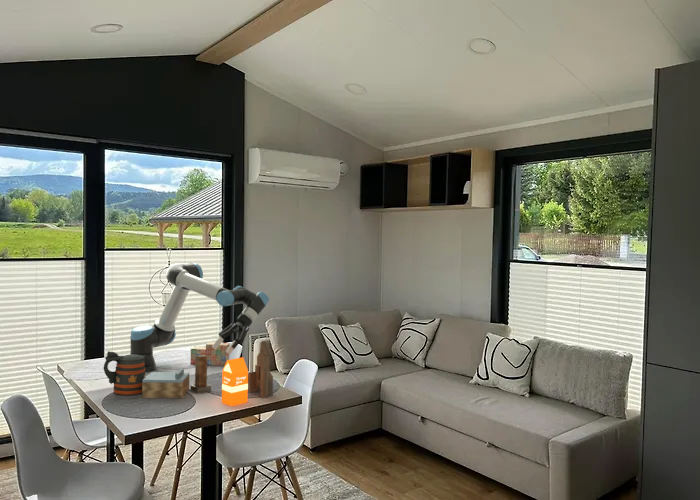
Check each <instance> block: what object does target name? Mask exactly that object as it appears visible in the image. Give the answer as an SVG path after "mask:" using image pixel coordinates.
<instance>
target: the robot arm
mask: <svg viewBox="0 0 700 500" xmlns="http://www.w3.org/2000/svg"><path fill="white" fill-rule="evenodd" d="M165 276H166V280H167V282H168V283H169V284H171V285H173V289H172V291H171V293H170V295H169V296H168V300H167V301H166V304H165V306H164V308H163V310H162V312H161V315H160V317H159V319H156V320H155V322H154V323H153V326H152V325H139V326H136V327H134V328H132V329H131V331H130V337H129V338H130V354H136V355H142V356H143V355H146V357H145V361H144V362H145V373H147V372H153V371H155V370H156V369H157V363H156V361H155V358H154V349H155V348H159V347H165V346H167V345H171V344H172V343H173V342H174V340H175V339H176V336H177V333H176V327H175V323H176V321H177V319H178V317H179V315H180V312H181V310H182V308H183V305H184V303H185V301H186V299H187V296H188V294H189V293H190V291H191V292H194V293H196V294H199V295H202V296H203V297H207V298H209V299H211V300H214V301H216V302H217V303H218V305H219V306H221V307H229V306H234V305H238V304H243V305H245V308H244V309H243V310H242V312H241V313H240V314H239V315H238V317H237V318H236V323H235V322H234V321H231V323H230V324H229V325H227V327H224V329H222V330H221V331H220V332H219V333H218V338H217V339H216V341H214V344H213V345H212V347H213V348H214V349H215V350H216V349H217V348H218V346H219V345H220V344H221V343H223V342H224V340H225V339H226V338H227V337H228V336H230V335H233V334H235V333H236V336H235V339H234V340H232V342H231V343H230V344H229V347H228V349H227V350H226V352H227V353H228V354H229V356H230V355H231V354H232V353H233V351H234V350H235V349H236V347H237V346H239V345H240V344H244V342H245V338H246V336H247V334H248V331H250V326H251V325H252V324H253V322H254V321H255V320H256V319H257V317H258V316H259V314H260V313H261V312H262V311H263V310H264V308H265V307H266V306H267V305H268V303H269V302H270V297H269V296H268V295H267V293H265V292H263V291H258V292H257V293H255V292H253V291H250V290H249V289H248V288H245V287H244V286H241V285H236V286H235V287H234V288H233V289H227V288H225V287H223V286H220V285H218V284H215V283H214V282H211V281H208V280H205V279H204V272H203V268H202V267H201V266H200V264H198V263H196V262H191V261H190V262H183V263H182V262H180V263H173V264H171V265H170V266H169V267H168V268H167V270H166V273H165Z"/></svg>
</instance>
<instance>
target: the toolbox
mask: <svg viewBox="0 0 700 500" xmlns="http://www.w3.org/2000/svg"><path fill="white" fill-rule="evenodd" d="M189 390H190V375H189V376H188V377H187V378H186V379H185V380H184V381H183V382H182V383H150V382H143V383H142V393H141V395H142V396H141V397H142V398H143V399H146V398H147V399H152V398H153V399H159V398H160V399H183V398H184V396H185V395H186V393H188V391H189ZM166 397H167V398H166Z"/></svg>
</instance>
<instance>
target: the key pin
mask: <svg viewBox="0 0 700 500" xmlns="http://www.w3.org/2000/svg"><path fill="white" fill-rule="evenodd" d="M194 365H195V369H194V370H195V371H194V372H195V373H194V374H195V376H194V384H195V386H196V387H198V388H199V387H204V386H207V384H208V382H207V381H208V365H207V356H206V355H197V356H196V362H195V364H194Z"/></svg>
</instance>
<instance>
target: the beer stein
mask: <svg viewBox="0 0 700 500" xmlns="http://www.w3.org/2000/svg"><path fill="white" fill-rule="evenodd" d="M145 357H146V355H143V356H142V355H136V354H124V355H119V354H118V353H117V352H115V351H110V350H108V351H107V354H106V356H105V362H104V364H103V371H104V374H105V375H106V377H107V379H108V383H110V385H112V384H113V393H114V394H116V395H118V396H119V395H121V396H130V395H131V396H133V395H138V394H139V393H140V394H142V383H143V379H144V378H145V377H146V372H145V362H144V361H145ZM111 362H116V363H115V365H116V366H115V370H114V371H112V370H110V369H109V363H111Z"/></svg>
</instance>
